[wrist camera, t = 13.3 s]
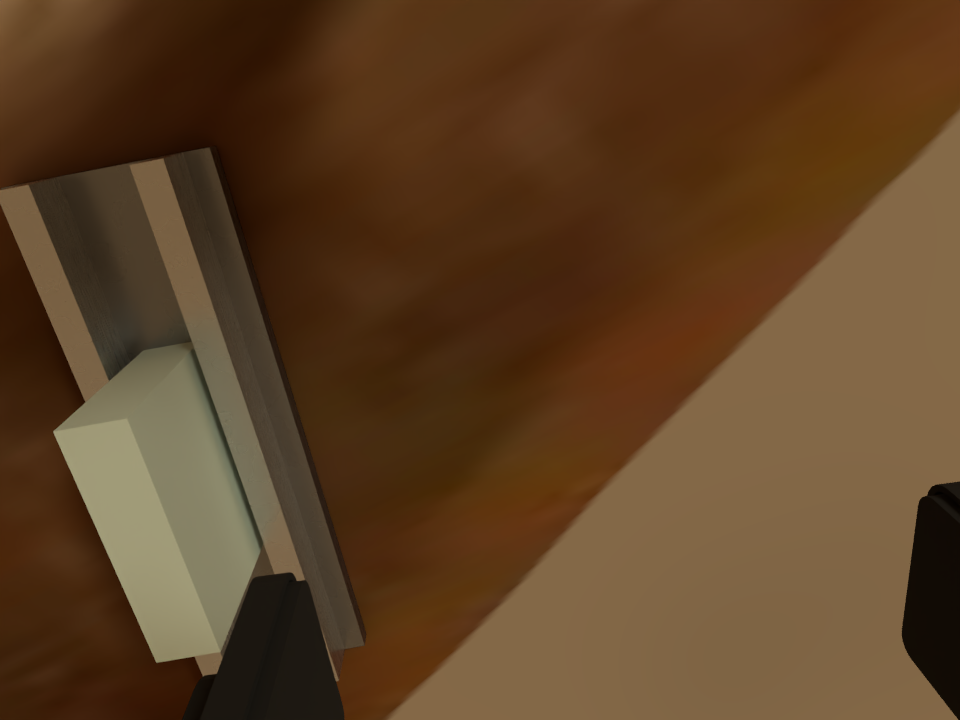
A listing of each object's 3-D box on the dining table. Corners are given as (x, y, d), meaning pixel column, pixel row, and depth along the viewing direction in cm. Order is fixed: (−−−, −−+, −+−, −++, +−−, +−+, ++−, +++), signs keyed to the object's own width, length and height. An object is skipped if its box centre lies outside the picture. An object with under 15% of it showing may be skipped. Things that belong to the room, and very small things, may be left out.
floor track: (12, 185, 34) (-33, 196, 31) (215, 145, 34) (191, 152, 31) (211, 660, 45) (193, 705, 42) (366, 633, 45) (359, 677, 42)
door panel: (143, 350, 37) (53, 431, 28) (200, 339, 37) (127, 418, 28) (216, 543, 41) (156, 662, 33) (267, 534, 41) (220, 652, 33)
